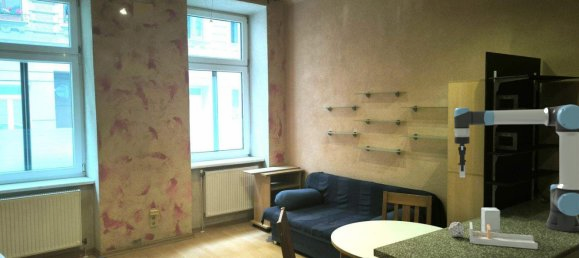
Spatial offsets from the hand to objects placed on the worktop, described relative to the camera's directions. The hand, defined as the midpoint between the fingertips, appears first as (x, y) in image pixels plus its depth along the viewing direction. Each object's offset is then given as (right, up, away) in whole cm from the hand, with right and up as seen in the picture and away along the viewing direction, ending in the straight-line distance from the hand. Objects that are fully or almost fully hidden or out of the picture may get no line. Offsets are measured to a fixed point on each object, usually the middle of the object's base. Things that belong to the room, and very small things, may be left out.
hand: (462, 175), depth 228 cm
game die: (-10, -29, -17) cm, 35 cm away
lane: (+8, -29, -27) cm, 40 cm away
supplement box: (+10, -29, -12) cm, 32 cm away
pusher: (+3, -28, -24) cm, 37 cm away
